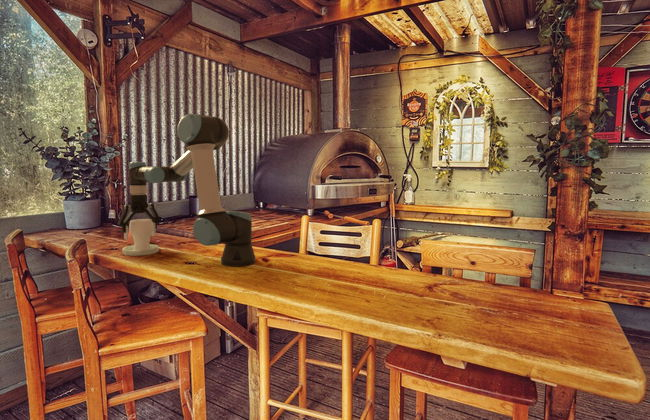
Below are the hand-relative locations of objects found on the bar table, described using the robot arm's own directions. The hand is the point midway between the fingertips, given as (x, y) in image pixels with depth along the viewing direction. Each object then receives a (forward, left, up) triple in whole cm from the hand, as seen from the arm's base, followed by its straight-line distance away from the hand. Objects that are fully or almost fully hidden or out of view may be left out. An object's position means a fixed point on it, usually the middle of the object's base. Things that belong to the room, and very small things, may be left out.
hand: (140, 237), depth 191 cm
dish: (0, 0, -7) cm, 7 cm away
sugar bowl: (+17, -9, -8) cm, 21 cm away
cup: (0, -1, -7) cm, 7 cm away
